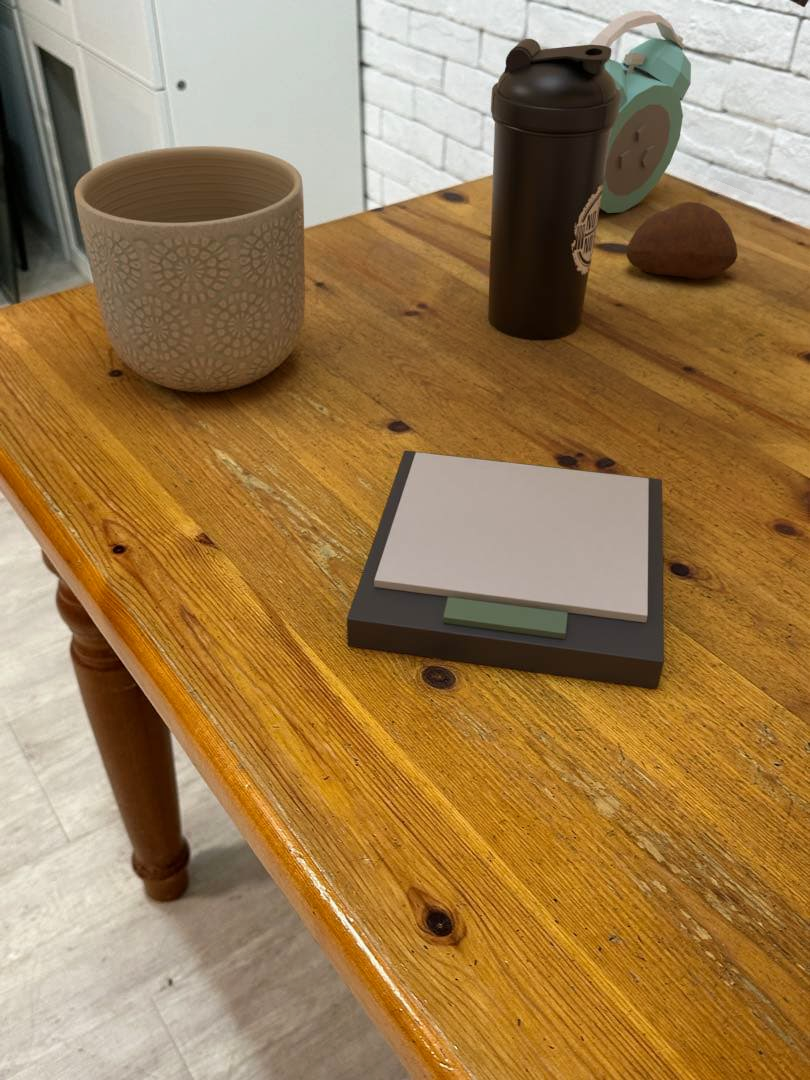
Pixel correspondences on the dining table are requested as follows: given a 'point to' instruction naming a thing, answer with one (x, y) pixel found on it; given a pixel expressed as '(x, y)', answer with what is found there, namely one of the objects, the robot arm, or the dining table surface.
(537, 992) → the dining table surface
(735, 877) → the dining table surface
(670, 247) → the potato
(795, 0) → the robot arm
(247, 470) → the dining table surface
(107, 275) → the planter
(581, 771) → the dining table surface
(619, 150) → the alarm clock
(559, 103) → the water bottle
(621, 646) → the scale
